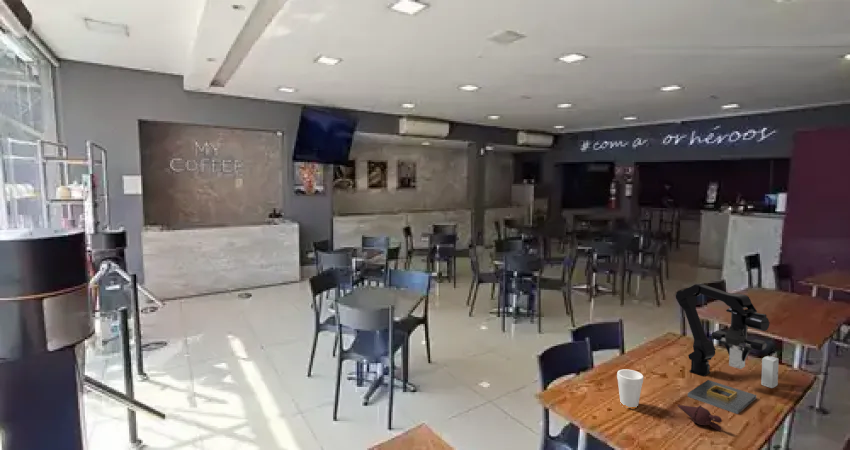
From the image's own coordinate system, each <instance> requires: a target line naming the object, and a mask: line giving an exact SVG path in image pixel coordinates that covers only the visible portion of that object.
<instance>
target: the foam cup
mask: <svg viewBox="0 0 850 450" xmlns="http://www.w3.org/2000/svg"><path fill="white" fill-rule="evenodd" d="M616 378H617V385H618V393H619V394H618V395H619V400H620V402H621V403H622V404H623V405H626V406H628V407H637V406H638V407H639V404H640V403H639V402H640V398H641V392H642V386H643V383H644V375H643V374H642V372H639V371H637V370H634V369H628V368H627V369H626V368H625V369H619V370H617V373H616ZM621 403H620V404H621Z"/></svg>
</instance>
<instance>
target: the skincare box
mask: <svg viewBox="0 0 850 450" xmlns="http://www.w3.org/2000/svg"><path fill="white" fill-rule="evenodd" d="M779 360H780V359H779V358H778V357H776V356H775V357H774V356H770V355H767V356H764V357H763V358H762V359H761V381H760V384H761V385H762V386H764V387H767V388H770V389H773V388H775V387H777V386H778V383H779V381H778V380H779Z"/></svg>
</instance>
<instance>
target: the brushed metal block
mask: <svg viewBox="0 0 850 450" xmlns="http://www.w3.org/2000/svg"><path fill="white" fill-rule="evenodd" d="M743 354H744V344H743V345H742V344H739V345H738V346H735V345H733V346H732V347H730V353H729V354H728V367H729V366H730V367H732V368H735V369H738V370H742V369H743V368H745V366H746V360H745V361H743Z"/></svg>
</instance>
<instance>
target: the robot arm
mask: <svg viewBox="0 0 850 450" xmlns="http://www.w3.org/2000/svg"><path fill="white" fill-rule="evenodd" d="M700 295H704V296H706V297H709V298H712V299H715V300H718V301H720V302H722V303H724V304H725V305H726V306H727V307H729V308H727V309H725V311H726V312H727V313H731V314H730V315H731V316H730V326H729V330H728V331H727V332H725V331H722V330H716V331H713V332H712V333H711V339H712V340H711V341H710V340H709V339H707V336H706V334H705V331H704V329H703V324H702V322H701V319H700V316H699V314H698V311H697V303H698V300H697V297H699V296H700ZM675 299H676V301H677V303H678V305H679V306H680V307H681V308H682V309H683V311H684V313H685V316H686V320H687V322H688V325H689V328H690V332H691V335H692V338H693V346H692V348H693V349H692V350H693V351H692V352H691V353H689V354H688V355H687V356H688V359H689V361H690V362H691V364H690V370H689V372H690V373H693V374H696V375H698V376H702V377H705V376H707V375H709V374H710V373H711V372H710V369H711V368H710V367H711V366H710V364H709V363H710V361H711V360H712V358H714V357H715V355H716V350H717V349H716V348H715V345H714V342H713V340H716V341H720V343H721V344H722V345H724V346H725V348H726V351H727V354H728V355H729V353H730V347H732V346H738V345H741V344H743V345H744V344H745V346H743V348H744V354H743V361H745V362H746V359H747V357H748V356H749V354H750V353H751V351H752V350H758V351H763V350H765V349H767V345H768V344H767V342H766V341H765V340H761V339H759V338H758V339H757V338H755V339H753V340H750V339H748V329H749V328H750V329H755V330H759V331H761V332H766V331H767V330H768V329H769V328H770V325H771V324H770V321H769V320H770V319H769V318H768V315H767V314H765V313H759V312H758V311H757V309H756V308H755V306H754V304H753V303H752V301H751V298H750V297H749V296H748V295H747V294H742V293H731V292H726V291H724V290H722V289H718V288H715V287H712V286H709V285H707V284H704V283H695V284H693V285H692V286H689V287H687V288H686V289H682V290H678V291H676V293H675Z"/></svg>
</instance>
